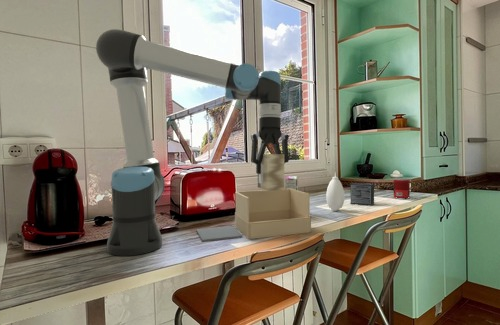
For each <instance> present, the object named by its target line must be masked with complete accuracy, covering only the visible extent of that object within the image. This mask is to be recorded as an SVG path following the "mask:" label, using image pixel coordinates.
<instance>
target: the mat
mask: <svg viewBox="0 0 500 325" xmlns="http://www.w3.org/2000/svg"><path fill="white" fill-rule="evenodd" d="M196 233H197V235H198V236H199V238H200V240H201V242H202V243H203V242H204V243H205V242H211V241H219V240H220V241H222V240H231V239H238V238H239V239H240V238H243V234H242V233H241V232H240V231H239V230H238V229H237V228H236V227H234V226H233V225H227V226H218V227H208V228H207V227H205V228H196Z"/></svg>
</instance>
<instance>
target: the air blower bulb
mask: <svg viewBox="0 0 500 325" xmlns="http://www.w3.org/2000/svg"><path fill="white" fill-rule="evenodd" d="M336 173H337V172H336V171H334V176H332V178H331V180H330V181H329V183H328V185H327V189H326V195H325V197H326V198H325V199H326V203H327V207H328V208H330V209H331V210H332V211H333V212H338V211H339V210H340V209H342V208H343V206H344V203H345V189H344V187H343V184H342V182H341V181H340V179H339V177H338V176H337V174H336Z"/></svg>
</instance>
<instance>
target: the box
mask: <svg viewBox="0 0 500 325" xmlns="http://www.w3.org/2000/svg"><path fill="white" fill-rule="evenodd" d="M261 165H263V184H261V183H259V174H257V188H259V189H261V190H267V191H271V190H284V189H285V164H284V154H276V153H270V154H269V153H267V154H266V153H264V154H263V159H262V163H261Z"/></svg>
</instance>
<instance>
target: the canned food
mask: <svg viewBox="0 0 500 325" xmlns="http://www.w3.org/2000/svg"><path fill="white" fill-rule="evenodd" d="M410 184H411V182H410V178H409V177H394V178H393V198H394V197H397V198H408V197H409V198H410V193H411V191H410ZM397 198H396V199H397Z"/></svg>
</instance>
